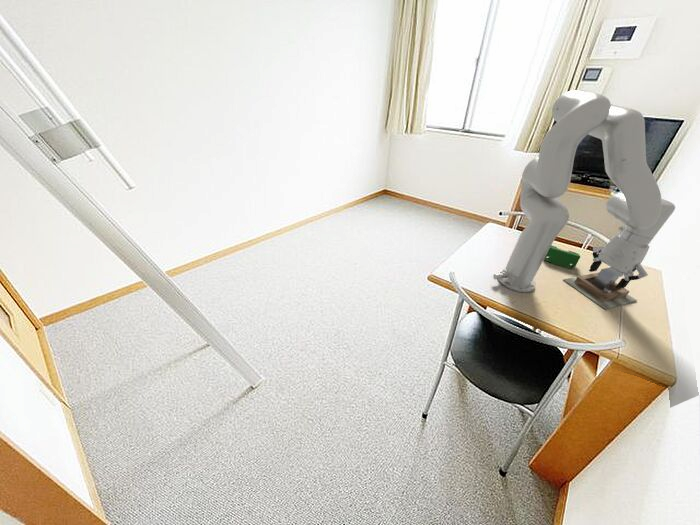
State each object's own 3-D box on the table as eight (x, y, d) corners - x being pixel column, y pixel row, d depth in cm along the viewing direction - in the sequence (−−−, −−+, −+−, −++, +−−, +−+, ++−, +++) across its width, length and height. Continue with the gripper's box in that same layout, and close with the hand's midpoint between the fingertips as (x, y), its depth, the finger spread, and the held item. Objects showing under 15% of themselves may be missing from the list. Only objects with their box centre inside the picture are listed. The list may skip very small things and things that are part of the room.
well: (604, 309, 100) (609, 302, 98) (562, 280, 112) (566, 273, 110) (636, 301, 105) (641, 294, 103) (593, 274, 117) (597, 267, 115)
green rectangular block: (562, 271, 125) (582, 256, 120) (563, 275, 120) (584, 259, 115) (538, 252, 128) (556, 236, 123) (538, 255, 123) (557, 239, 118)
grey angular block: (600, 293, 106) (613, 275, 101) (589, 286, 109) (601, 269, 104) (610, 291, 108) (624, 273, 103) (600, 284, 111) (612, 266, 106)
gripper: (601, 225, 101) (575, 266, 111) (658, 252, 88) (622, 296, 98) (616, 223, 103) (589, 263, 113) (673, 250, 90) (638, 293, 100)
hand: (605, 279), depth 105 cm, fingers open, 9 cm apart
